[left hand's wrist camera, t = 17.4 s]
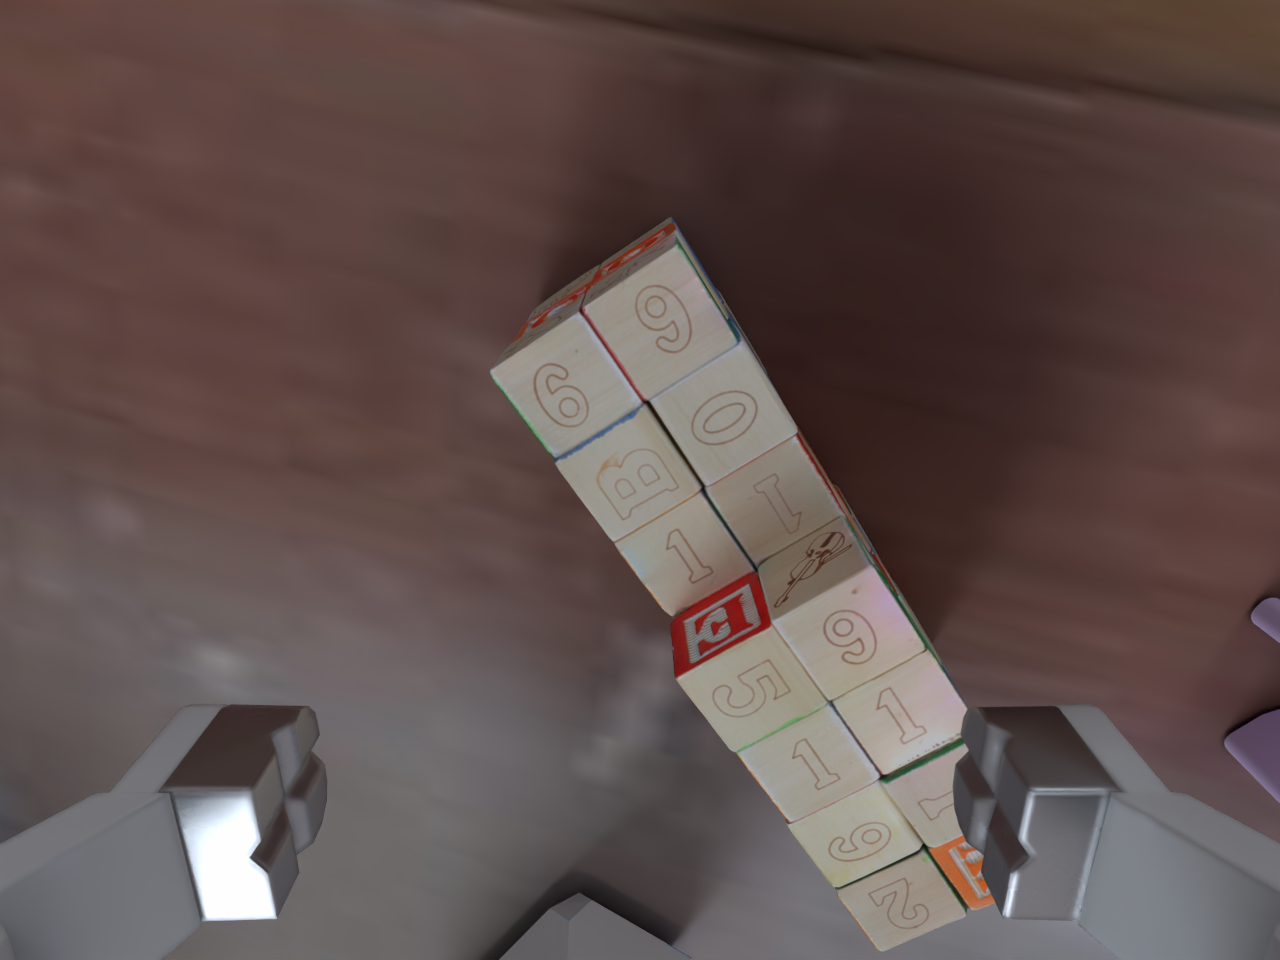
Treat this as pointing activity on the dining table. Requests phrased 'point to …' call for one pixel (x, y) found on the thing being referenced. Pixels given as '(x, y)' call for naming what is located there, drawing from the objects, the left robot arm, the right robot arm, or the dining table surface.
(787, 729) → the stack of blocks
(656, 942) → the electronic device
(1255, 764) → the clip
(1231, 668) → the dining table surface
